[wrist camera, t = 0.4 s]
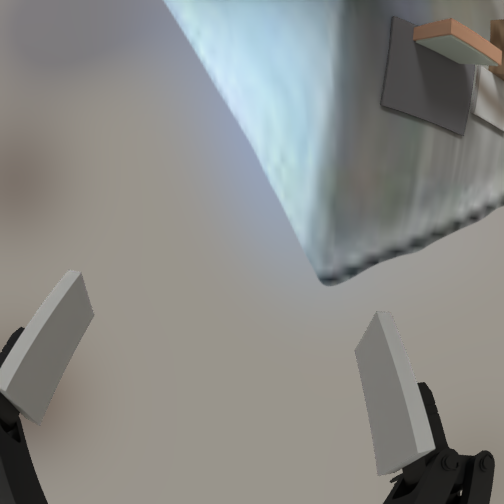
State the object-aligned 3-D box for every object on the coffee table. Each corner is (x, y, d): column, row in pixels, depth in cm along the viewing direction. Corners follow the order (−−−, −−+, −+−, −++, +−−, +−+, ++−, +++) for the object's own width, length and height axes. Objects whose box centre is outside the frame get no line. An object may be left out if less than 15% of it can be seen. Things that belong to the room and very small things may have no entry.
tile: (413, 27, 22) (451, 18, 15) (460, 50, 22) (502, 51, 15) (412, 41, 24) (450, 35, 16) (459, 64, 24) (501, 67, 16)
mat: (391, 16, 23) (393, 15, 22) (473, 56, 23) (475, 56, 22) (380, 104, 30) (381, 105, 29) (461, 135, 30) (463, 136, 29)
